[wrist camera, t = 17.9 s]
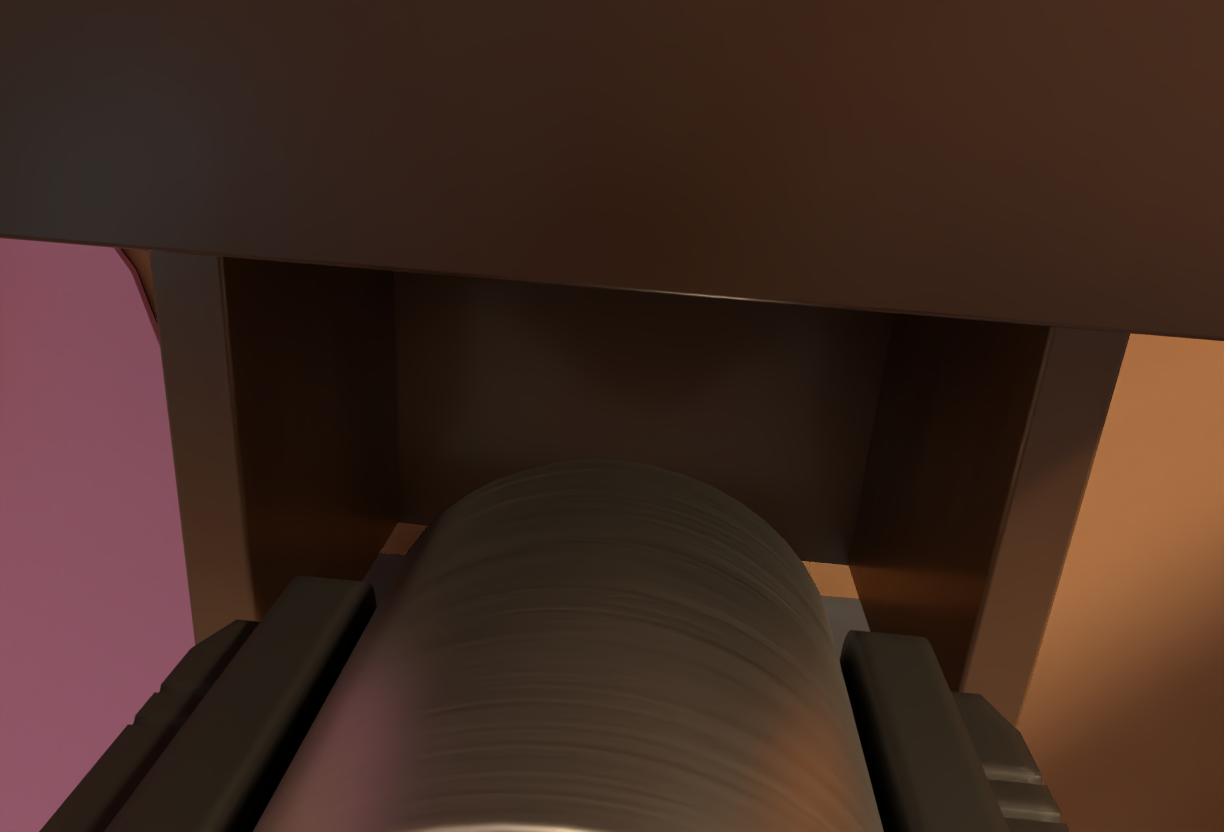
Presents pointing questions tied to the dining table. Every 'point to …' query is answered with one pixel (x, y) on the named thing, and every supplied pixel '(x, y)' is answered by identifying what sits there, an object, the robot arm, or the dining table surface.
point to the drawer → (631, 434)
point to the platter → (80, 519)
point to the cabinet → (648, 146)
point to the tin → (588, 674)
